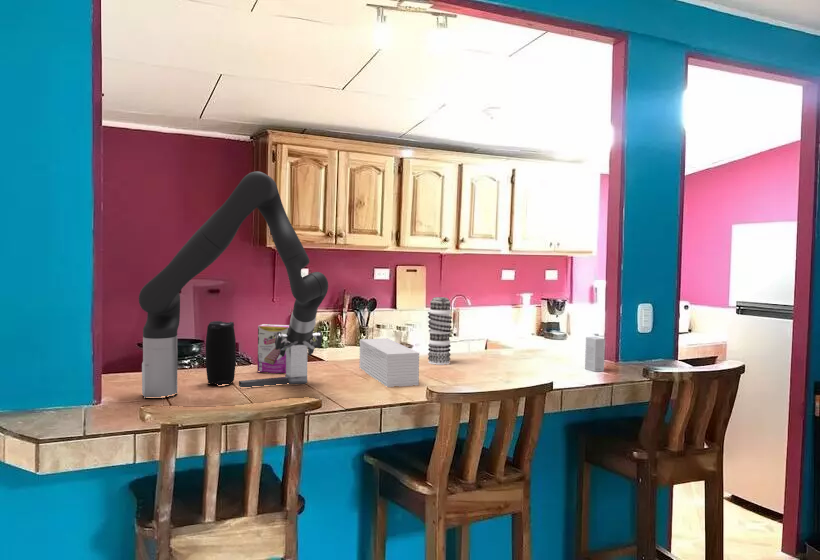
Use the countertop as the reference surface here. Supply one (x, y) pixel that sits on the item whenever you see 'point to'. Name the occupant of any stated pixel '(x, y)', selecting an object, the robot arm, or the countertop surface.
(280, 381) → the ratchet
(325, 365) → the countertop surface
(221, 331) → the portable speaker
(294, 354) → the brushed aluminum block
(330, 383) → the countertop surface
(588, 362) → the skincare box
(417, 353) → the stack of papers
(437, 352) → the decorative candle
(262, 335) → the candy bar box
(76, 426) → the countertop surface
